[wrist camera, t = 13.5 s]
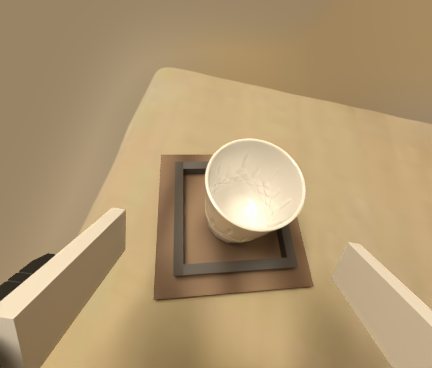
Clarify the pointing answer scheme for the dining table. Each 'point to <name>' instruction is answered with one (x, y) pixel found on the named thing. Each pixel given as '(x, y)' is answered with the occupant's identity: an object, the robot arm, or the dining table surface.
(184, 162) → the dock board
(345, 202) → the dining table surface
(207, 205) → the white cup
